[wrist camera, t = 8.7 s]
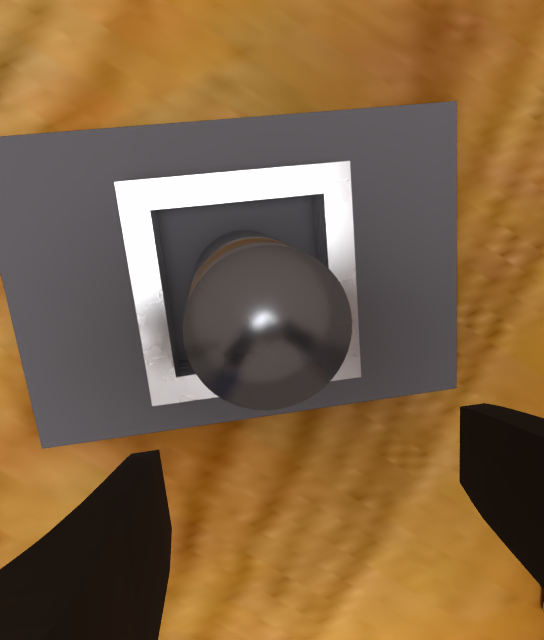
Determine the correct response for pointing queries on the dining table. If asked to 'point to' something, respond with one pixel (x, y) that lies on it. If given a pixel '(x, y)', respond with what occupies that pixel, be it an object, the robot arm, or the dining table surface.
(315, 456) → the dining table surface
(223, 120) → the dock mat
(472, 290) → the dining table surface
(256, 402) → the grey upright cylinder
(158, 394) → the steel socket
